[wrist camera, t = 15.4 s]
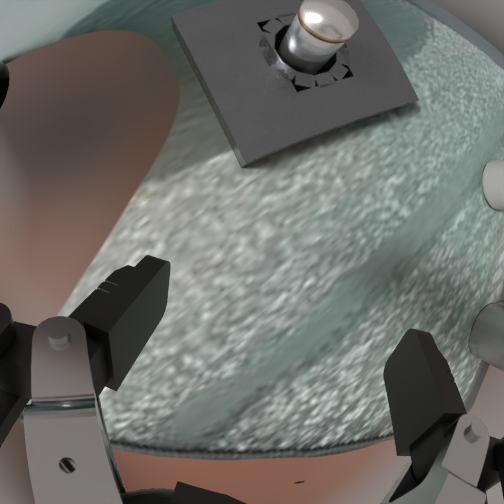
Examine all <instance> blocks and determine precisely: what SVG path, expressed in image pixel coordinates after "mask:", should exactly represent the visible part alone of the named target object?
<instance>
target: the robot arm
mask: <svg viewBox="0 0 504 504" xmlns="http://www.w3.org/2000/svg"><path fill="white" fill-rule="evenodd" d="M169 277H170V262H169V261H165V260H162V259H159V258H156V257H153V256H149V255H146V256H145V257H144V258H143V259H142V260H141V261H140V262H139V263H138V264H137V265H136V266H135V267H132V266H129V265H127V266H125V267H123V268H120V269H118V270H116V271H114V272H113V273H112V274H111V275H110V276H109V277H108V278H107V279H106V280H105V282H102V283H101V284H100V285H99V286H98V288H97V290H96V289H95V290H94V291H93V292H92V293H91V294H90V295H89V296H88V297H87V298H86V299H85V300H84V301H83V302H82V303H81V304H80V305H79V306H78V307H77V308H76V309H75V310H74V311H73V312H72V313H71V315H70V316H69V317H65V316H56V317H52V318H48V319H46V320H44V321H43V322H41V323H40V324H39V325H38V326H32V325H28V324H23V323H19V322H14V321H13V319H12V316H11V312H10V310H9V308H8V307H7V306H6V305H4V304H2V303H0V447H1V445H2V443H3V442H4V440H5V438H6V437H7V435H8V433H9V432H10V430H11V428H12V426H13V425H14V423H15V422H16V420H17V419H18V417H19V415H20V414H21V412H22V411H23V409H24V408H25V409H24V430H25V441H26V451H27V458H28V465H29V472H30V478H31V484H32V489H33V494H34V499H35V503H36V504H246V503H244V502H241V501H239V500H237V499H235V498H232V497H230V496H228V495H225V494H221V493H217V492H213V491H209V490H205V489H202V488H198V487H195V486H191V485H188V484H185V483H182V482H177V485H176V488H175V490H172V489H154V488H152V489H141V490H135V491H129V492H126V489H125V487H124V484H123V481H122V478H121V475H120V472H119V469H118V466H117V463H116V460H115V458H114V454H113V451H112V448H111V444H110V440H109V437H108V433H107V429H106V425H105V421H104V416H103V412H102V408H101V403H100V398H99V395H100V393H101V392H102V390H103V389H104V387H105V386H106V387H108V388H110V389H112V390H115V391H117V390H118V388H119V387H120V385H121V383H122V382H123V380H124V378H125V377H126V375H127V374H128V372H129V370H130V369H131V367H132V365H133V364H134V362H135V360H136V359H137V357H138V356H139V354H140V352H141V351H142V349H143V348H144V346H145V344H146V343H147V341H148V340H149V338H150V336H151V335H152V333H153V332H154V330H155V329H156V327H157V325H158V324H159V322H160V321H161V319H162V317H163V315H164V312H165V309H166V305H167V298H168V287H169ZM469 347H470V351H471V353H472V354H473V355H475V356H477V357H478V358H480V359H482V360H484V361H486V362H487V363H489V364H491V365H492V366H494V367H496V368H498V369H500V370H501V371H503V372H504V303H503V302H500V301H499V302H498V303H496V304H494V303H492V304H489V305H487V306H486V307H485V308H484V309H483V310H482V311H481V312H480V314H479V315H478V317H477V319H476V321H475V323H474V325H473V328H472V331H471V335H470V341H469ZM450 372H451V370H450V368H449V365H448V363H447V361H446V359H445V358H444V356H443V355H442V354H441V353H440V351H439V350H438V348H437V346H436V344H435V341H434V339H433V337H432V335H431V334H430V333H429V332H425V331H421V330H416V329H409V330H408V331H407V332H406V333H405V334H404V336H403V337H402V339H401V341H400V342H399V344H398V345H397V347H396V348H395V350H394V351H393V353H392V354H391V356H390V357H389V359H388V360H387V362H386V365H385V368H384V382H385V387H386V392H387V397H388V402H389V408H390V413H391V419H392V425H393V432H394V438H395V445H396V451H397V456H411V461H410V462H408V463H407V464H406V465H405V467H404V468H403V470H402V472H401V473H400V475H399V477H398V478H397V480H396V482H395V483H394V485H393V486H392V487H391V489H390V491H389V492H388V493H387V495H386V496H385V498H384V499H383V501H382V502H381V503H380V504H488V503H487V496H486V491H487V490H488V489H490V488H491V487H493V486H494V485H496V484H497V483H499V482H500V481H501V486H502V492H503V498H504V437H503V438H502V439H497V438H494V437H491V436H489V432H488V429H487V427H486V425H485V424H484V423H483V421H482V420H481V419H479V418H478V417H477V416H475V415H472V414H467V413H466V410H465V407H464V404H463V401H462V398H461V396H460V393H459V390H458V388H457V385H456V383H454V381H455V380H454V378H453V375H452V373H450ZM30 399H32V402H31V405H26V404H27V403H28V401H29V400H30Z"/></svg>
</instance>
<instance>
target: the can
mask: <svg viewBox="0 0 504 504" xmlns="http://www.w3.org/2000/svg"><path fill="white" fill-rule="evenodd" d="M482 189H483V193H484V196H485V198H486V200H487V201H488V203H489V205H490V206H491V207H492V208H494V209H496V210H504V159H503V160H493V161H490V162H488V163H487V165H486V167H485V169H484V171H483V175H482Z"/></svg>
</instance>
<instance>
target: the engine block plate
mask: <svg viewBox="0 0 504 504" xmlns="http://www.w3.org/2000/svg"><path fill="white" fill-rule="evenodd" d="M343 1H345V2H346V3H347V4H348V5H349V6H350V7H351V8H352V9H353V10H354V11H355V13H356V15H357V17H358V21H359V26H358V29H357V31H356V32H355V33H354V35H353V36H352V37H351V38H350V39H349V40H348V41H346V42H345V43H344V44H343V45H342V46H341V47H340V48H339V50H338V51H337V52H336V53H335V54H334V55H333V56H332V57H331V58H330V59H329V60H328V61H327V62H326V72H325V73H321V74H317V75H310V74H306V73H301V72H297V71H295V70H294V69H292V68H291V67H290V66H288V65H287V64H285V63H284V62H282V60H281V59H280V57H279V55H278V53H277V52H276V50H275V48H274V44H275V41H276V40H277V39H280V38H284V36H285V35H286V33H287V31H288V29H289V27H290V25H291V23H292V22H293V20H294V18H295V16H296V14H297V12H298V10H299V8H300V6H301V4H302V3H303V2H304V0H218V1H214V2H210V3H207V4H204V5H200V6H197V7H194V8H191V9H188V10H185V11H182V12H179V13H176V14H173V15H171V20H172V28H173V31H174V33H175V35H176V37H177V39H178V41H179V43H180V45H181V47H182V49H183V50H184V52H185V54H186V56H187V58H188V60H189V62H190V64H191V66H192V68H193V70H194V72H195V74H196V76H197V78H198V80H199V82H200V84H201V86H202V88H203V90H204V92H205V94H206V96H207V98H208V100H209V102H210V104H211V106H212V108H213V110H214V112H215V114H216V116H217V118H218V120H219V122H220V125H221V127H222V129H223V131H224V133H225V135H226V137H227V139H228V141H229V143H230V145H231V147H232V149H233V151H234V154H235V156H236V158H237V160H238V162H239V164H240V166H241V168H242V167H244V166H247V165H249V164H251V163H254V162H256V161H258V160H261V159H263V158H265V157H268V156H270V155H272V154H275V153H277V152H280V151H282V150H284V149H287V148H289V147H292V146H294V145H297V144H299V143H302V142H304V141H307V140H309V139H312V138H315V137H317V136H320V135H322V134H325V133H328V132H330V131H333V130H336V129H339V128H341V127H344V126H347V125H350V124H353V123H355V122H358V121H361V120H364V119H367V118H370V117H373V116H376V115H379V114H382V113H385V112H388V111H391V110H395V109H398V108H401V107H404V106H407V105H409V104H411V103H413V102H415V101H418V98H417V95H416V93H415V91H414V89H413V87H412V85H411V83H410V81H409V79H408V77H407V75H406V74H405V72H404V70H403V68H402V66H401V64H400V62H399V61H398V59H397V57H396V55H395V54H394V52H393V50H392V49H391V47H390V45H389V43H388V42H387V40H386V39H385V37H384V35H383V34H382V32H381V31H380V29H379V28H378V26H377V24H376V23H375V21H374V20H373V18H372V17H371V16H370V14H369V13H368V11H367V10H366V8H365V7H364V6H363V4H362V3H361V1H360V0H343Z"/></svg>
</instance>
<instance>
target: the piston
mask: <svg viewBox="0 0 504 504" xmlns="http://www.w3.org/2000/svg"><path fill="white" fill-rule="evenodd" d="M358 26H359V21H358V17H357V15H356V13H355V11H354V10H353V9H352V8H351V7H350V6H349V5H348V4H347V3H346V2H345V1H343V0H304V2H303V3H302V4H301V6H300V8H299V10H298V12H297V14H296V16H295V18H294V20H293V22H292V23H291V25H290V27H289V29H288V31H287V33H286V35H285V36H284V38H283V40H282V42H281V44H280V46H279V48H278V50H277V53H278V55H279V57H280V59H281V60H282V62H284V63H285V64H287V65H288V66H290V67H291V68H292V69H294V70H295V71H297V72H301V73H306V74H310V75H315V74H316V73H317V72H318V71H319V70H320V69H321V68H322V67H323V66H324V65H325V63H326V62H327V61H328V60H329V59H330V58H331V57H332V56H333V55H334V54H335V53H336V52H337V51H338V50H339V48H340V47H341V46H342V45H343V44H344V43H345V42H346V41H348V40H349V39H350V38H351V37H352V36H353V35H354V33H355V32H356V31H357V29H358Z"/></svg>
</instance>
